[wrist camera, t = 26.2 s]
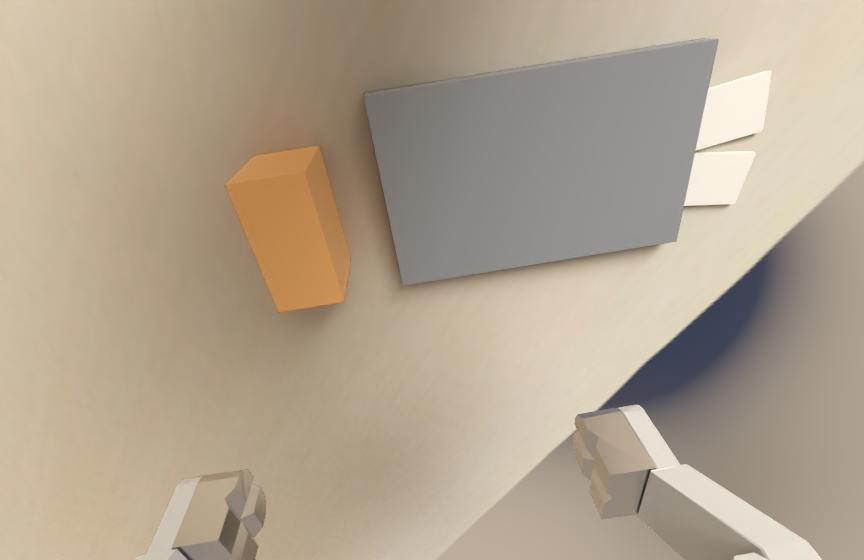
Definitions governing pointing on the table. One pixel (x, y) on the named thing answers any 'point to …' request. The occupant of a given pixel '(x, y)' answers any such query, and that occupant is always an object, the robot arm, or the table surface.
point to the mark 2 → (717, 177)
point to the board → (540, 159)
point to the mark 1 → (734, 110)
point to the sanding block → (293, 227)
